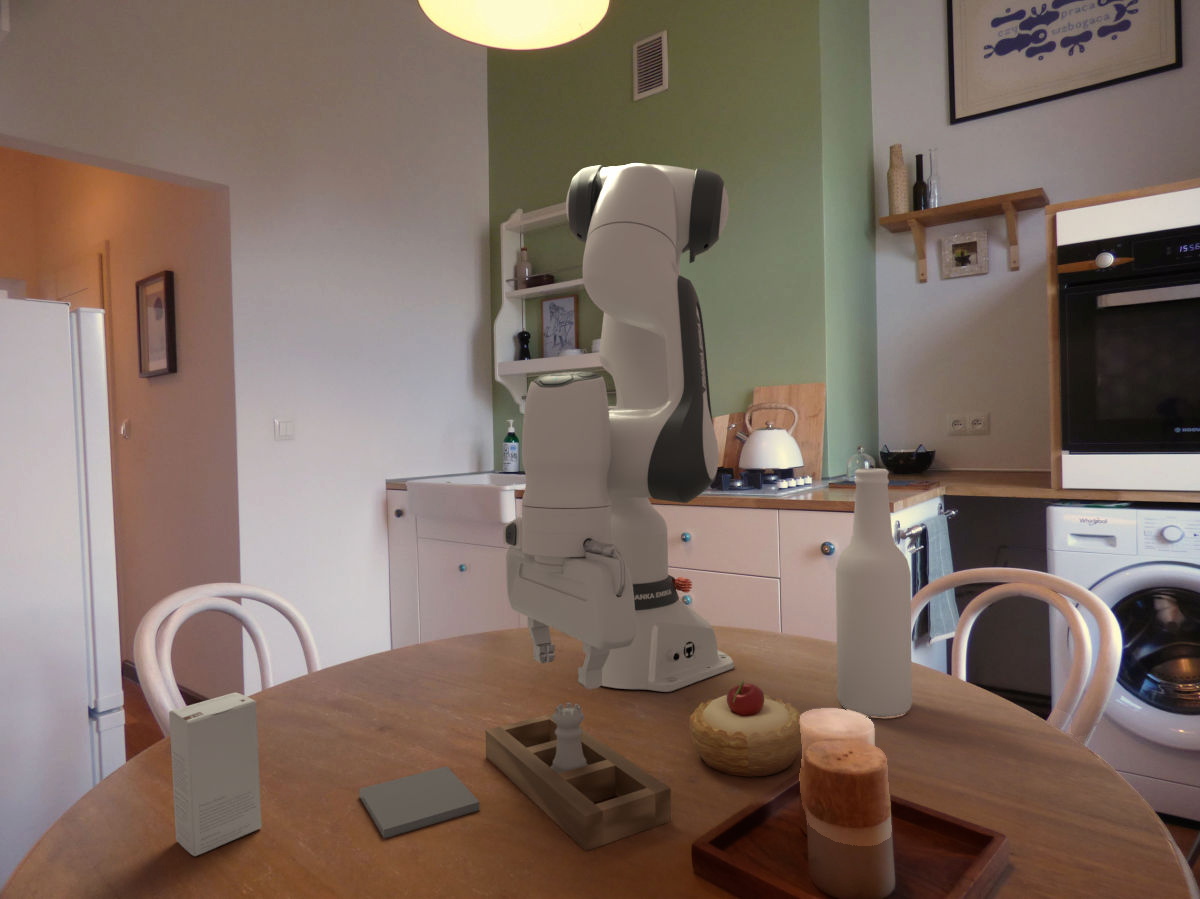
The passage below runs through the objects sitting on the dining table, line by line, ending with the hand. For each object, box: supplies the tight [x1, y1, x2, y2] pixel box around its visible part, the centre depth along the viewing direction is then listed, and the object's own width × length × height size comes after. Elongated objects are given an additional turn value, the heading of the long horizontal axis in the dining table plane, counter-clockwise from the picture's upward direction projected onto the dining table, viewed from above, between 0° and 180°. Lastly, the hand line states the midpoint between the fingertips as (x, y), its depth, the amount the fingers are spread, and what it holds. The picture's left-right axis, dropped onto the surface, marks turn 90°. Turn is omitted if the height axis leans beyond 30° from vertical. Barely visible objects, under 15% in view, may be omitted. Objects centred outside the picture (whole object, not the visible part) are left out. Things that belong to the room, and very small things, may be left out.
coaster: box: [358, 765, 481, 839], centre depth 73 cm, size 9×9×1 cm
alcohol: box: [835, 468, 913, 719], centre depth 94 cm, size 9×9×30 cm
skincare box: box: [168, 692, 262, 857], centre depth 67 cm, size 6×4×12 cm
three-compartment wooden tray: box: [484, 712, 672, 852], centre depth 76 cm, size 9×22×3 cm, turn 31°
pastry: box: [688, 680, 802, 778], centre depth 81 cm, size 12×12×9 cm
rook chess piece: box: [550, 702, 588, 774], centre depth 76 cm, size 4×4×8 cm
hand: (565, 673), depth 75 cm, fingers open, 8 cm apart
